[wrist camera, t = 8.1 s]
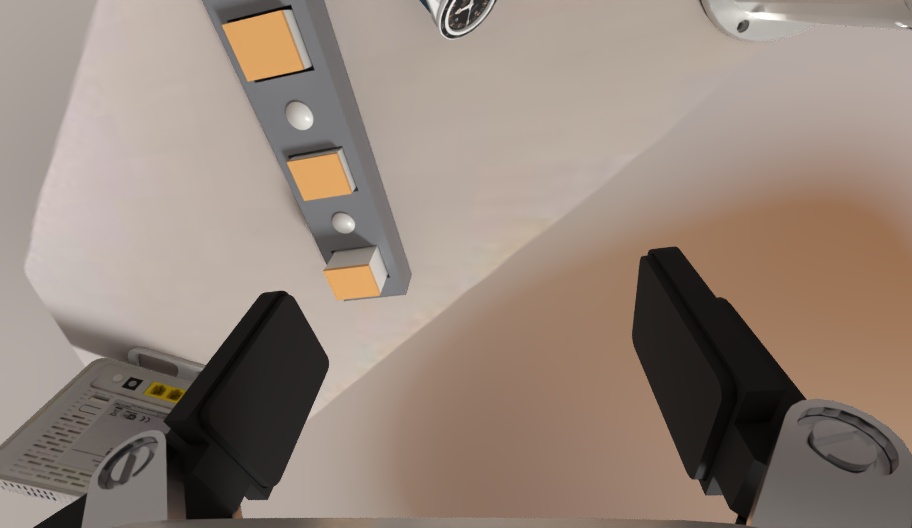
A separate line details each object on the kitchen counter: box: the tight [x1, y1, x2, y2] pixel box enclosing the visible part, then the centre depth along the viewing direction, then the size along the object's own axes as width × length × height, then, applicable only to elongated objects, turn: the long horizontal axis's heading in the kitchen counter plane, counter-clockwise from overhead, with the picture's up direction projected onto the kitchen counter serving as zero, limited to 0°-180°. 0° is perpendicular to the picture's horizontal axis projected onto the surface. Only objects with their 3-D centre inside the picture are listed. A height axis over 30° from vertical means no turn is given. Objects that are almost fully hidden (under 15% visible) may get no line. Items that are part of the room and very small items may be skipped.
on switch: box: [222, 10, 313, 82], centre depth 31 cm, size 5×4×4 cm
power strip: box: [202, 0, 412, 301], centre depth 38 cm, size 8×32×4 cm, turn 11°
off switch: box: [323, 245, 388, 300], centre depth 42 cm, size 5×4×4 cm
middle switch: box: [287, 146, 357, 201], centre depth 37 cm, size 5×4×4 cm
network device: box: [0, 347, 205, 505], centre depth 56 cm, size 26×9×20 cm, turn 67°
